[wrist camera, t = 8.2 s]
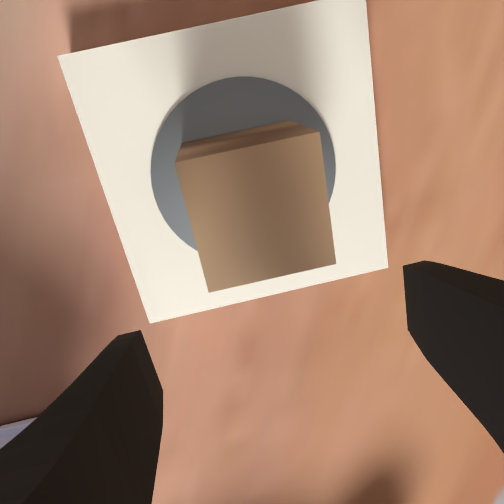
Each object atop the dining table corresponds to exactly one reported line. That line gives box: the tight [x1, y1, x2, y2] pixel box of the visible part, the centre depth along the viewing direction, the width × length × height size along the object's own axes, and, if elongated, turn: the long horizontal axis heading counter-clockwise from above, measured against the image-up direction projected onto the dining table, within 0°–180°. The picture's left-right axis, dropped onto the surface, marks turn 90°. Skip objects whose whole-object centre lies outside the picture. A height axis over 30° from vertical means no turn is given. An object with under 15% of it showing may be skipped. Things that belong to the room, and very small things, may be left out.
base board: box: [57, 0, 388, 323], centre depth 19 cm, size 12×12×2 cm
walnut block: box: [174, 120, 336, 293], centre depth 16 cm, size 4×4×5 cm
